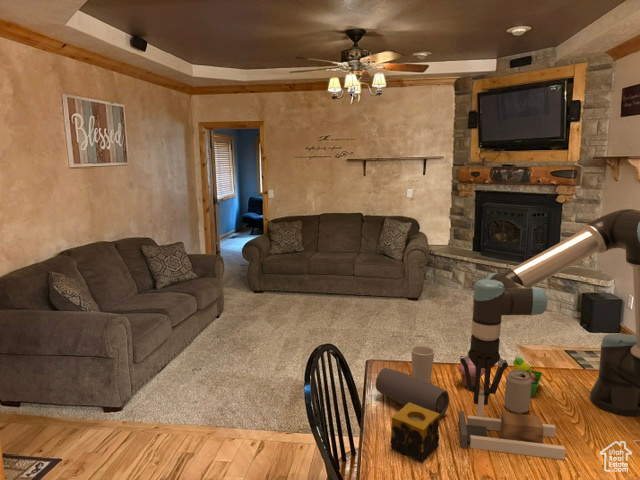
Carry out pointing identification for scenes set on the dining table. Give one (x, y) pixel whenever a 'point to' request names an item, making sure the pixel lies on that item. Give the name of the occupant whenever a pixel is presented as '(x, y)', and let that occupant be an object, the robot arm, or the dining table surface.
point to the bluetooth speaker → (412, 391)
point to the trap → (468, 430)
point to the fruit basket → (534, 375)
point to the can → (518, 391)
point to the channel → (513, 445)
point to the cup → (422, 362)
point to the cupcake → (471, 371)
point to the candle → (415, 432)
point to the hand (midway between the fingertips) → (479, 414)
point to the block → (521, 427)
